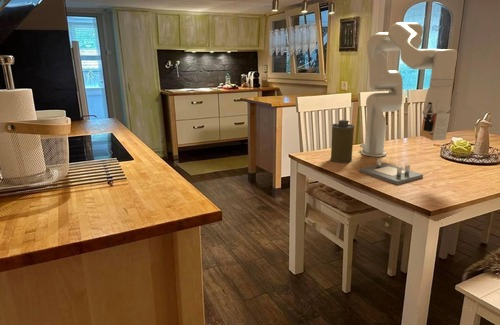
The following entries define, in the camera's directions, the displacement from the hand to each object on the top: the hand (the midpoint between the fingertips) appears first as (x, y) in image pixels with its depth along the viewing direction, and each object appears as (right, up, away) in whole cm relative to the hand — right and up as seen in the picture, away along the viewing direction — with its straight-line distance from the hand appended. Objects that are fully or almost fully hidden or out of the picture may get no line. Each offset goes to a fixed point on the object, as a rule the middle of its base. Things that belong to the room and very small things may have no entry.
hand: (434, 129), depth 133 cm
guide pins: (-12, -17, +13) cm, 25 cm away
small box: (0, -3, +1) cm, 4 cm away
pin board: (-12, -18, +14) cm, 26 cm away
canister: (-27, -12, +37) cm, 47 cm away
